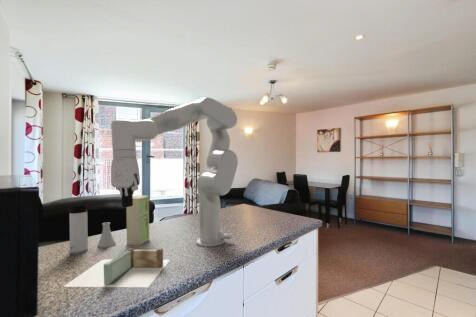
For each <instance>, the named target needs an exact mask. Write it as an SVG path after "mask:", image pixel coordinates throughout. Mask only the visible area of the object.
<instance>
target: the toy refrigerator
mask: <svg viewBox="0 0 476 317" xmlns="http://www.w3.org/2000/svg"><path fill="white" fill-rule="evenodd" d="M132 197H133V206H130V207H125V208H126V211H125V212H126V245H128V246H141V245H143V244H145V243H147V242H148V241H150V203H149V202H150V200H149V198H150V197H149V195H140V194H139V195H138V194H137V195H132Z"/></svg>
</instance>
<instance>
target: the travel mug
mask: <svg viewBox="0 0 476 317" xmlns="http://www.w3.org/2000/svg"><path fill="white" fill-rule="evenodd" d="M68 214H69V216H68V217H69V218H68V219H69V254H70V255H72V256H76V255H79V254H83V253H86V252H87V251H89V246H88V245H89V244H88V242H89V239H88V238H89V236H88V204H75V205H69V213H68Z"/></svg>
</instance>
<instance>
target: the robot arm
mask: <svg viewBox="0 0 476 317" xmlns="http://www.w3.org/2000/svg"><path fill="white" fill-rule="evenodd" d="M205 119H206V125H207V128H208V129H209V131H210V133H211V136H212V137H211V138H212V141H211V145H210V147H209V151H208V153H207V154H208V155H207V157H206V161H205V162H206V167H207V168H208V169H209V170H210V171H211V170H212V171H216V172H210V171H209V172H208V171H207V172H203V173H201V174H200V175H199V176H198V178H197V180H196V189H197V190H196V191H197V194H198V201H199V202H198V205H199V207H198V208H199V209H198V210H199V212H198V215H199V219H198V220H199V237H198V238H197V239H196V244H197V246H200V247H206V248H210V247H213V248H214V247H218V246H221V245H223V244H224V243H225V240H231V239H232V238H231V236H232V235H231V234H229V233H223V230H222V227H221V225H222V222H221V221H222V220H221V218H222V217H221V199H220V196H225V195H227V194H228V193H229V192H230V191H231V189H232V187H233V185H234V184H233V183H234V179H235V176H236V172H237V168H238V163H239V162H238V161H239V160H238V156H237V154H236V152H235V151H234V150H232V149H230V146H231V138H230V134H229V133H228V131H227V130H229V129H232V128H234V127H236V125H237V123H238V116H237V114H236V112H235V111H234V110H233V109H231V108H230V107H228V106H227V105H225V104H223V103H221V102H220V101H218V100H216V99H213V98H211V97H202V98H200V99H197V100H196V99H195V100H194V101H191V102H188V103H185V104H183V105H179V106H177V107H174V108H173V107H172V108H170V109H168V110H165V111H163V112H162V113H159V114H157V115H154V116H151V117H149V118H146V119H139V120H132V119H115V120H112V121H111V123H110V129H111V142H112V143H111V144H112V160H111V168H110V184H111V185H110V186H112V187H113V188H115V190H116V191H119V194H120V197H121V207H122V208H126V207H130V206H133V196H134V192H135V191H138V190H139V185H140V184H141V183H140V169H139V162H138V159H137V148H136V147H137V146H136V145H137V144H136V143H137V142H138V143H139V142H140V143H141V142H145V141H151V140H154V139H155V138H157V137H158V135H161V134H165V133H168V132H172V131H173V132H174V131H177V130H180V129H182V128H186V126H189V125H192V124H195V123H197V122H199V121H201V120H205Z"/></svg>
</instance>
